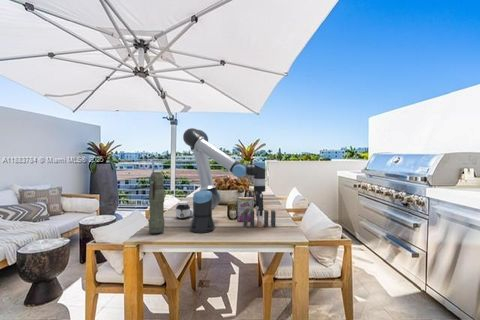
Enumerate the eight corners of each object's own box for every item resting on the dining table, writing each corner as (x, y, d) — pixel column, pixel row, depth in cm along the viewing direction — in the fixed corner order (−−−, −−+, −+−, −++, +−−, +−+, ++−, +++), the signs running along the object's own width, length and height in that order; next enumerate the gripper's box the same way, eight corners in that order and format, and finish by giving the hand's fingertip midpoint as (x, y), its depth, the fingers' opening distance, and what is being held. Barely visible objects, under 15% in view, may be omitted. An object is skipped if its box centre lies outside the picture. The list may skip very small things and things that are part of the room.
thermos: (144, 233, 143) (144, 172, 143) (153, 228, 154) (154, 171, 154) (159, 234, 142) (159, 173, 142) (167, 228, 153) (167, 171, 153)
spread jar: (174, 218, 180) (174, 202, 179) (182, 215, 190) (182, 200, 190) (188, 219, 176) (189, 203, 176) (196, 216, 187) (196, 200, 187)
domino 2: (251, 227, 158) (251, 211, 158) (250, 225, 163) (250, 210, 163) (254, 227, 158) (254, 211, 158) (253, 225, 163) (253, 210, 163)
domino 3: (258, 227, 158) (258, 211, 158) (257, 225, 163) (257, 210, 163) (261, 227, 158) (261, 211, 158) (260, 225, 163) (260, 210, 163)
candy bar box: (237, 221, 172) (237, 197, 172) (237, 219, 177) (237, 196, 177) (253, 222, 171) (253, 198, 171) (253, 220, 176) (253, 197, 176)
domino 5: (272, 227, 158) (272, 211, 158) (270, 225, 163) (271, 209, 163) (275, 227, 158) (275, 211, 158) (273, 225, 163) (274, 209, 163)
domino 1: (244, 227, 157) (244, 211, 157) (243, 225, 162) (243, 210, 162) (247, 227, 157) (247, 211, 157) (246, 225, 162) (246, 210, 162)
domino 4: (265, 227, 158) (265, 211, 158) (264, 225, 163) (264, 210, 163) (268, 227, 158) (268, 211, 158) (267, 225, 163) (267, 210, 163)
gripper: (268, 187, 148) (268, 223, 148) (262, 183, 173) (262, 214, 173) (255, 187, 148) (255, 223, 148) (251, 183, 172) (251, 214, 172)
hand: (259, 218), depth 160 cm, fingers open, 12 cm apart
